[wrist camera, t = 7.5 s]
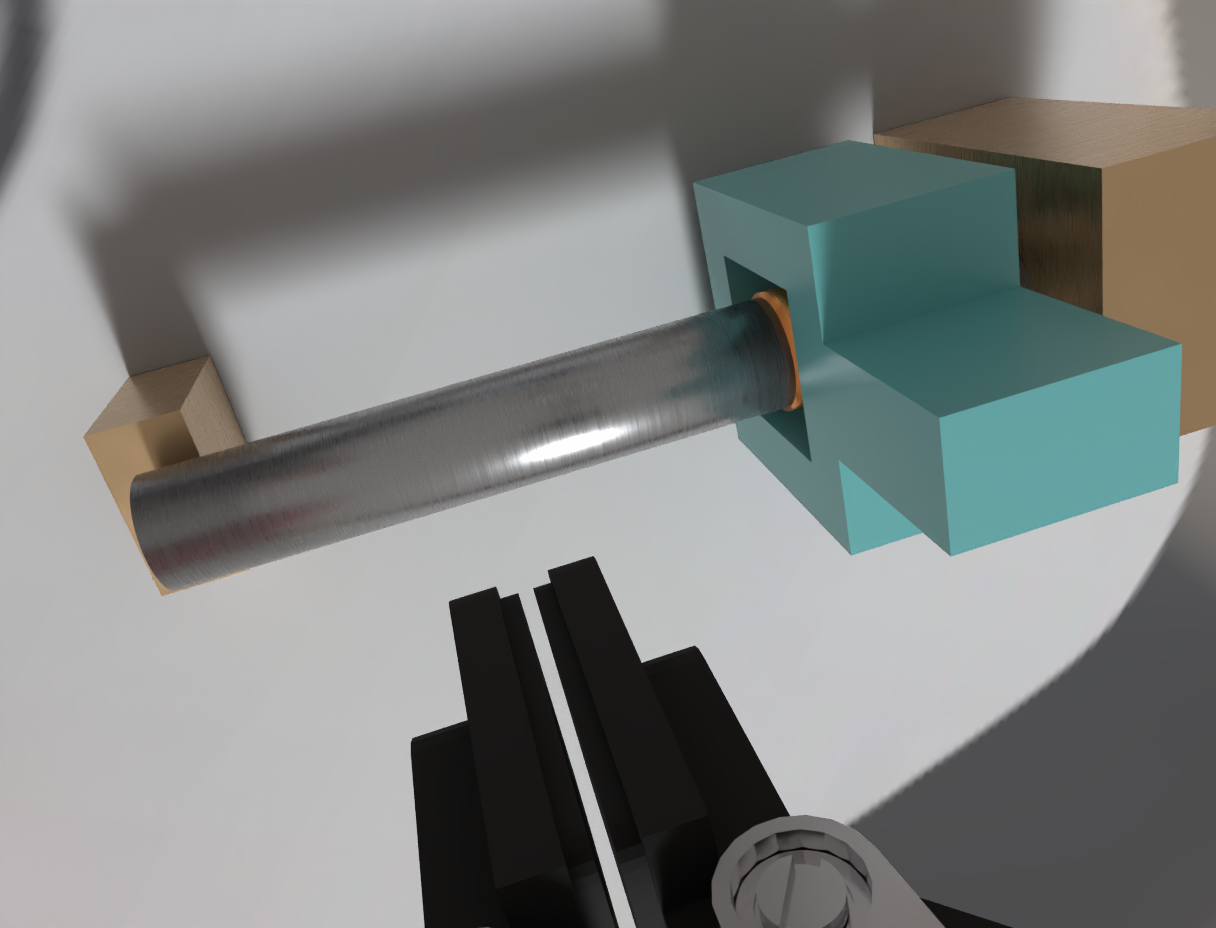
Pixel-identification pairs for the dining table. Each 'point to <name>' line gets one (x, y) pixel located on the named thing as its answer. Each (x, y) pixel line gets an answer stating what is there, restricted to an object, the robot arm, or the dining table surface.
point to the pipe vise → (664, 359)
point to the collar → (932, 353)
